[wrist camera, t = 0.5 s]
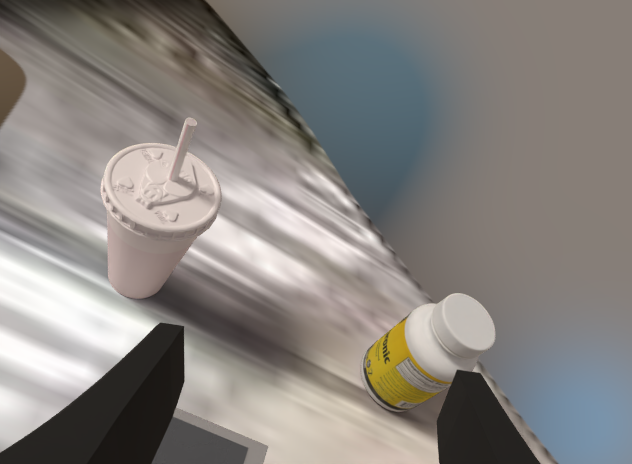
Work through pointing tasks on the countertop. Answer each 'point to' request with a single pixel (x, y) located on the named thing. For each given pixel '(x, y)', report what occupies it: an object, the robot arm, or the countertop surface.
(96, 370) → the countertop surface
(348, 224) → the countertop surface
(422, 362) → the supplement bottle
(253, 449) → the grey box
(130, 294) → the smoothie
